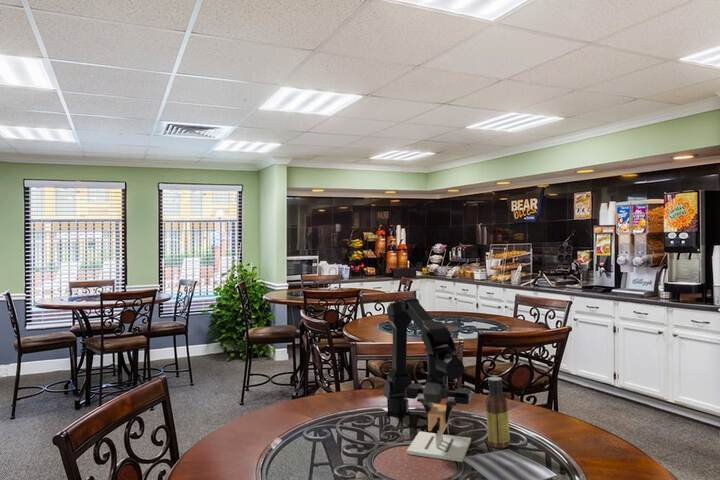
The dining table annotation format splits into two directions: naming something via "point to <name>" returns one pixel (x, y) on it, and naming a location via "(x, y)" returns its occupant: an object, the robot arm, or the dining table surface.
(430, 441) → the board
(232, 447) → the dining table surface
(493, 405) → the sauce bottle
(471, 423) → the dining table surface
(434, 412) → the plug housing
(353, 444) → the dining table surface
